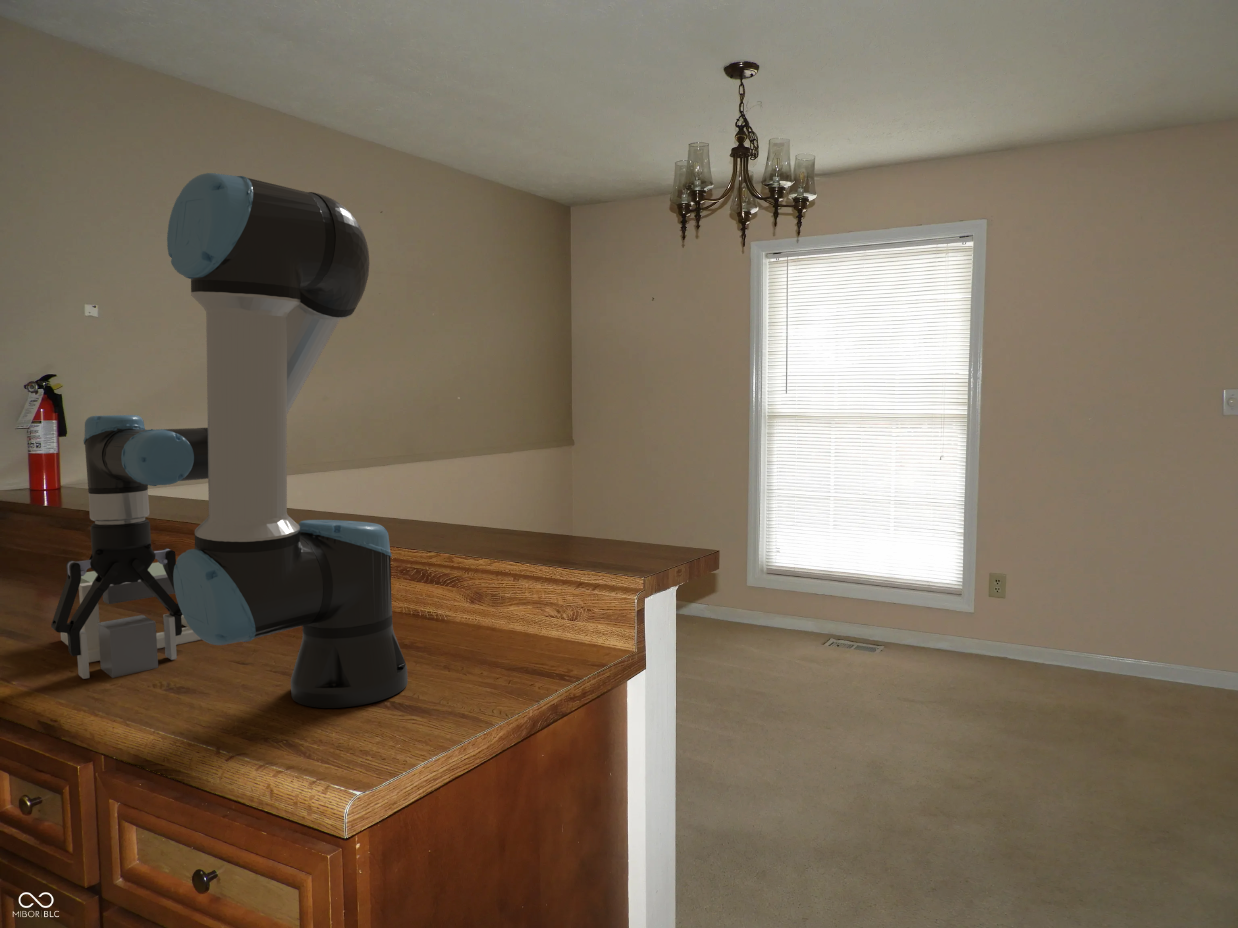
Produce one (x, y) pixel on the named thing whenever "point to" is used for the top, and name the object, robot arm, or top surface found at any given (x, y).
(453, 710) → the top surface
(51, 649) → the top surface
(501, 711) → the top surface
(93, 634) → the stand
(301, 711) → the top surface
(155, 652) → the basalt block
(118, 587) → the trapdoor
